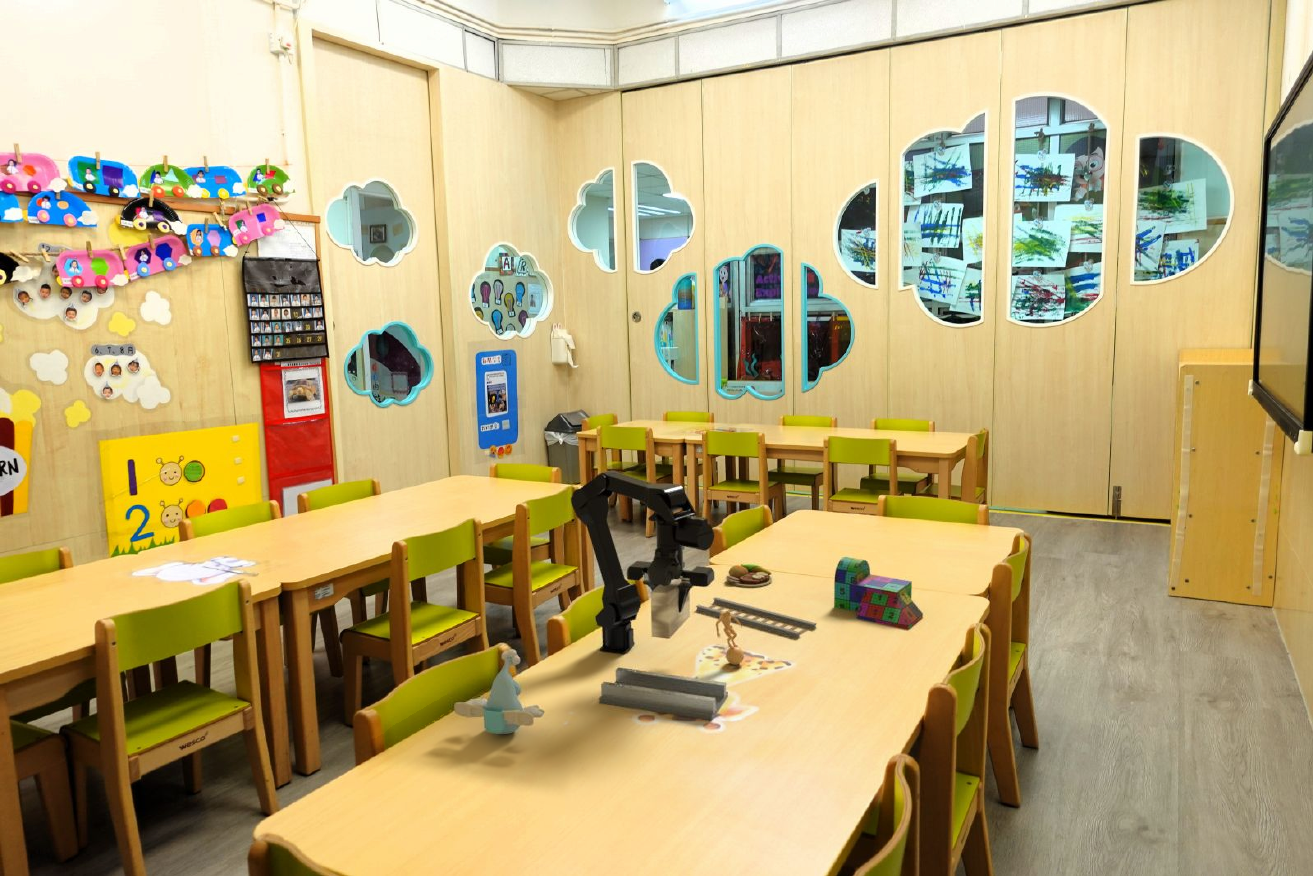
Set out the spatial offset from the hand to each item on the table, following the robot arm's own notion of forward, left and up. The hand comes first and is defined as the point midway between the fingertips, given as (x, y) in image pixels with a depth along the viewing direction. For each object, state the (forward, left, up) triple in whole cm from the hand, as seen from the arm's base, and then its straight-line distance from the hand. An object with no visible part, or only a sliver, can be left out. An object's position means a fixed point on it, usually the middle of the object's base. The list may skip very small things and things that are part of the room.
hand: (671, 611), depth 191 cm
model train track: (+10, +34, -14) cm, 38 cm away
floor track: (+4, -16, -13) cm, 21 cm away
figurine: (+12, +6, -13) cm, 19 cm away
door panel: (0, 0, -4) cm, 4 cm away
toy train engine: (+39, +49, -13) cm, 64 cm away
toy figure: (-20, -38, -13) cm, 45 cm away
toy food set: (0, +64, -14) cm, 65 cm away
